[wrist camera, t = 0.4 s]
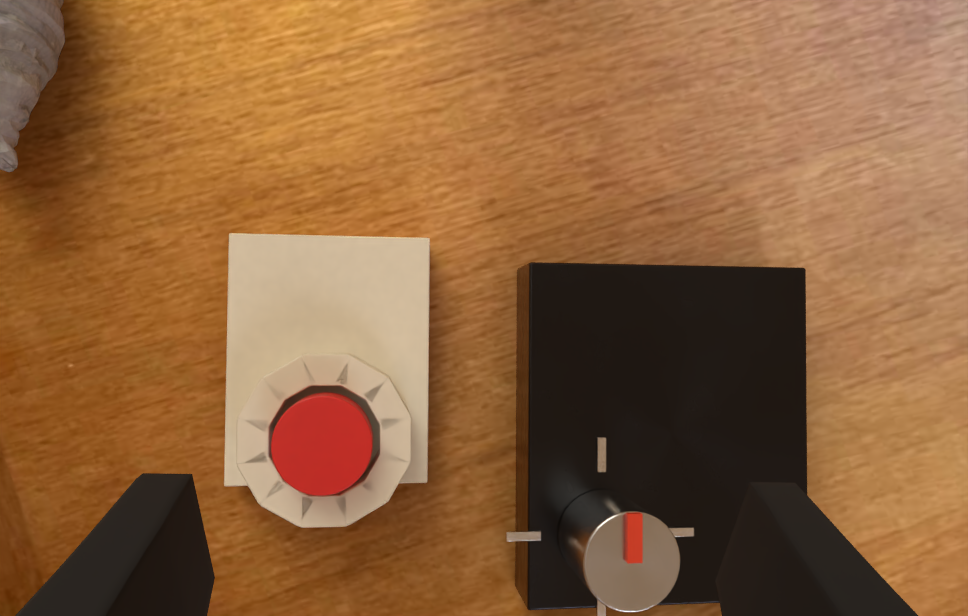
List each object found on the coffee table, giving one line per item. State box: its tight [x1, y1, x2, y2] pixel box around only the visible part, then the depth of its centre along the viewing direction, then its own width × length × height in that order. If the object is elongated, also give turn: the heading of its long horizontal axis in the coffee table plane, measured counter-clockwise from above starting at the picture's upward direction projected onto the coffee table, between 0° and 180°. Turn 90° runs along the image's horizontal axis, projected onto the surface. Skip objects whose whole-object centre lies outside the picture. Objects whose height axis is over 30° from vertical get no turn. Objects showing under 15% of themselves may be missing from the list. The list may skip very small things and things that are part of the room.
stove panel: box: [506, 262, 807, 616], centre depth 34 cm, size 15×13×3 cm
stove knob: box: [558, 490, 680, 613], centre depth 29 cm, size 4×4×4 cm
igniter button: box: [271, 392, 373, 496], centre depth 29 cm, size 4×4×2 cm
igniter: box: [224, 233, 430, 528], centre depth 31 cm, size 11×8×4 cm
